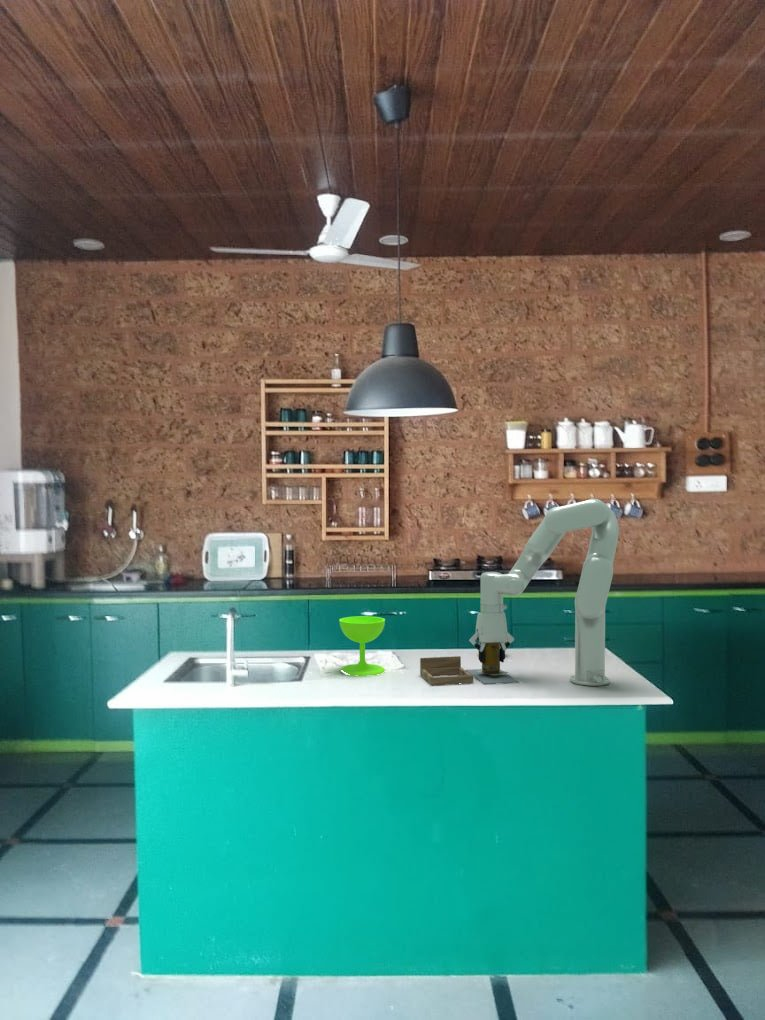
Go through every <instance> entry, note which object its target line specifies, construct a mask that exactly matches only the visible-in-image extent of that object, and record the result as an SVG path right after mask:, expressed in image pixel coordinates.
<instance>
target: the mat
mask: <svg viewBox="0 0 765 1020" xmlns="http://www.w3.org/2000/svg"><path fill="white" fill-rule="evenodd" d="M465 670H466V671H467V672H468V673H470V674H471V675H473V676H474V677H475V678H474V677H473V678H474V679H476V680H477V679H478V680H479V682H480V681H481V682H482V683H481V682H480V683H481V684H482V685H497V684H496V683H503V684H514V683H513V682H519V683H520V681H519V680H518V679H516V678H515V677H513V676H512V675H510V674H509V673H505V674H501V675H490V674H485V673H480V672H477V671H481V670H482V668H478V669H477V668H475V669H465ZM500 671H503V670H502V669H501V668H500ZM478 680H477V681H478ZM489 683H490V684H489Z"/></svg>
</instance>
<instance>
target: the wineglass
mask: <svg viewBox="0 0 765 1020" xmlns="http://www.w3.org/2000/svg"><path fill="white" fill-rule="evenodd" d="M338 621H339V627H340V629H341V632H342V633H343V635H344V636H345V637H346V638H347V639H349V640H350V641H352V642H355V643H358V644H359V661H358V663H354V664H353V663H352V664H348V665H343V666H342V667H341V668H340V669H341V670H343V671H344V672H346V673H348V674H350V675H358V676H357V677H368V676H367V675H375V676H378V675H377V674H380V675H382V674H381V673H383V672H384V671H385V672H386V669H385V668H384V667H383V666H381V665H379V664H374V663H367V661H366V643H370V642H372V641H374V640H375V639H377V638H378V637H379V636H380V634H382V632H383V631H384V629H385V625H386V624H385V623H386V619H385V618H383V617H379V616H370V615H368V616H365V615H360V616H359V615H358V616H347V617H342V618H339V619H338ZM385 672H384V673H385ZM384 673H383V674H384Z"/></svg>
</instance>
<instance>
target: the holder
mask: <svg viewBox="0 0 765 1020" xmlns="http://www.w3.org/2000/svg"><path fill="white" fill-rule="evenodd" d="M461 657H462V656H459V655H456V656H436V657H435V656H434V657H420V658H419V668H420V669H419V672H420V673H419V675H421V676H422V677H423V680H425V682H426V683H428V682H429V683H430V684H431V685H436V686H446V685H445V684H455V685H460V684H459V683H473V684H474V677H473V675H471V674H470V673H468V672H467V671H466V670H467V669H464V668H463V667H461V664H462V663H461V659H462V658H461ZM456 674H459V675H460V676H459V675H456ZM440 675H448V676H440ZM421 676H420V677H421ZM422 677H421V678H422ZM429 683H428V684H429ZM430 684H429V685H430ZM431 685H430V686H431Z"/></svg>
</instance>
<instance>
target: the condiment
mask: <svg viewBox="0 0 765 1020" xmlns="http://www.w3.org/2000/svg"><path fill="white" fill-rule="evenodd" d="M483 651H484V652H485V663H481V669H482V670H481V671H477V672H480V673H485V674H490V675H501V674H505V673H507V674H509V672H508V671H506V670H502V671H500V669H501V662H500V645H499V643H486V644H485V647H484V649H483Z"/></svg>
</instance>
